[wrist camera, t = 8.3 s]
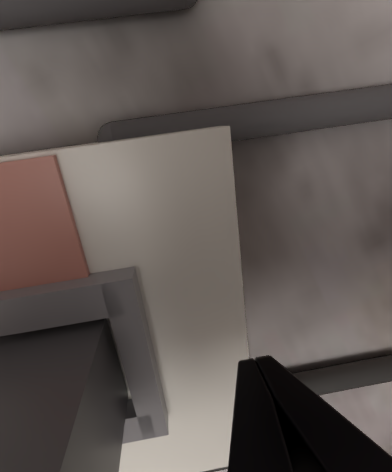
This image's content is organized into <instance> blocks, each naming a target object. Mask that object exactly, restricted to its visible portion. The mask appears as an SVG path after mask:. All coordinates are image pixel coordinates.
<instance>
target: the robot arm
mask: <svg viewBox="0 0 392 472" xmlns="http://www.w3.org/2000/svg"><path fill="white" fill-rule="evenodd" d="M228 472H392V456H390V455H389V454H388V453H387V452H386V451H384V450H383V449H382V448H381V447H380V446H378V445H377V444H376V443H375V442H374V441H372V440H371V439H370V438H369V437H368V436H366V435H365V434H364V433H363V432H362V431H360V430H359V429H358V428H357V427H356V426H354V425H353V424H352V423H351V422H350V421H348V420H347V419H346V418H345V417H344V416H342V415H341V414H340V413H339V412H338V411H336V410H335V409H334V408H333V407H332V406H330V405H329V404H328V403H327V402H326V401H324V400H323V399H322V398H321V397H320V396H318V395H317V394H316V393H315V392H314V391H312V390H311V389H310V388H309V387H308V386H306V385H305V384H304V383H303V382H302V381H300V380H299V379H298V378H297V377H296V376H294V375H293V374H292V373H291V372H290V371H288V370H287V369H286V368H285V367H284V366H282V365H281V364H280V363H279V362H278V361H276V360H275V359H274V358H273V357H272V356H269V355H267V356H261V357H256V358H255V360H254V359H252V358H250V359H245V360H240V361H239V362H238V368H237V378H236V389H235V399H234V410H233V420H232V431H231V441H230V451H229V462H228Z"/></svg>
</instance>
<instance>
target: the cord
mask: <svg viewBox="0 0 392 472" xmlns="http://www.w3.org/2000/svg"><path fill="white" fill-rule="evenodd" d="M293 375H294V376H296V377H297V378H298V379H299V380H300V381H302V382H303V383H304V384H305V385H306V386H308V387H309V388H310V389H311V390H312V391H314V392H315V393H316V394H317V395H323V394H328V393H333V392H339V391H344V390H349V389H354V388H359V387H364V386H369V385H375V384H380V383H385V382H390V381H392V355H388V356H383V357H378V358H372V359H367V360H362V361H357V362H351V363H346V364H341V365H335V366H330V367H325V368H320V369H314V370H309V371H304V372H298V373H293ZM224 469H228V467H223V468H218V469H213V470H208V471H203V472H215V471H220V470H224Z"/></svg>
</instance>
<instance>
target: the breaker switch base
mask: <svg viewBox="0 0 392 472" xmlns="http://www.w3.org/2000/svg"><path fill="white" fill-rule="evenodd" d="M105 318H107V321H108V324H109V328H110V331H111V335H112V338H113V342H114V345H115V349H116V352H117V356H118V360H119V363H120V367H121V370H122V374H123V377H124V381H125V384H126V388H127V391H128V402H127V410H126V418H125V426H124V434H123V442H122V450H121V458H120V466H119V472H203V471H208V470H213V469H218V468H223V467H228V462H229V451H230V441H231V431H232V420H233V410H234V399H235V389H236V378H237V368H238V362H239V361H240V360H245V359H249V351H248V339H247V327H246V315H245V303H244V291H243V278H242V266H241V254H240V242H239V230H238V218H237V206H236V193H235V181H234V169H233V157H232V145H231V133H230V126H216V127H208V128H201V129H194V130H187V131H180V132H172V133H165V134H158V135H151V136H144V137H136V138H129V139H122V140H115V141H108V142H99V143H98V142H96V143H88V144H81V145H74V146H67V147H59V148H52V149H45V150H38V151H31V152H23V153H16V154H9V155H2V156H0V337H1V336H6V335H12V334H18V333H24V332H30V331H35V330H41V329H47V328H53V327H59V326H64V325H70V324H76V323H82V322H88V321H93V320H99V319H105Z"/></svg>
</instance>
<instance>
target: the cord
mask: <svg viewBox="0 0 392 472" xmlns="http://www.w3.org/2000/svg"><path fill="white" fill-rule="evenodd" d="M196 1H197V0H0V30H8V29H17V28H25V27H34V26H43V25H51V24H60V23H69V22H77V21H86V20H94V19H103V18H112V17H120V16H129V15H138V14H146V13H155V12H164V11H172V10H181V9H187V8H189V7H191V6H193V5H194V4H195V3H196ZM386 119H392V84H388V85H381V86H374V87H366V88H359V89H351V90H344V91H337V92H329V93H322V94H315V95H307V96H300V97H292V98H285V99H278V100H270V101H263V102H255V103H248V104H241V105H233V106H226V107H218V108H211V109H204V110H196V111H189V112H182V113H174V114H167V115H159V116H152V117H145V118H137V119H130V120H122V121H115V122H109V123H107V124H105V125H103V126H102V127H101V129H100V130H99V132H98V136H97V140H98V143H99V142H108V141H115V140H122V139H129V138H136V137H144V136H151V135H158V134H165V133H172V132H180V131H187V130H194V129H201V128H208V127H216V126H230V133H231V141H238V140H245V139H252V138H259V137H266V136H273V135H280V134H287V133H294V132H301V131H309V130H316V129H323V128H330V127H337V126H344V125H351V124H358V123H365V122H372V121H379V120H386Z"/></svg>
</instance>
